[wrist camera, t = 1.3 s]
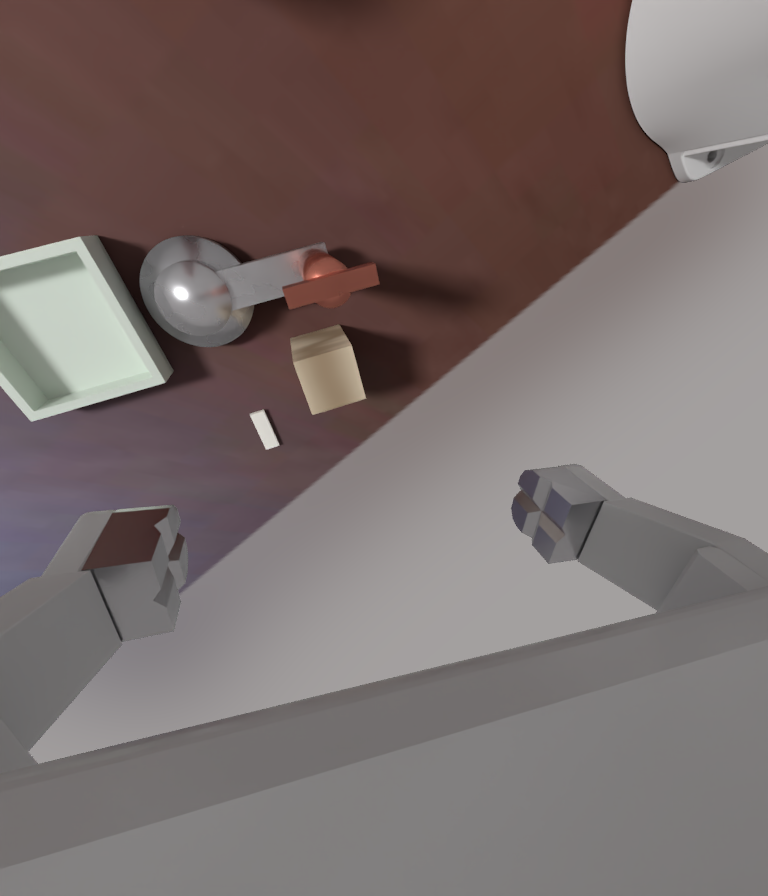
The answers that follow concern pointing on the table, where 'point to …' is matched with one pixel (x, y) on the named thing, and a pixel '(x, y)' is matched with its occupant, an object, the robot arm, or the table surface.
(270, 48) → the table surface
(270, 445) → the strip
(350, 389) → the block
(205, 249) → the crank plinth
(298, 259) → the crank
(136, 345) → the tray
